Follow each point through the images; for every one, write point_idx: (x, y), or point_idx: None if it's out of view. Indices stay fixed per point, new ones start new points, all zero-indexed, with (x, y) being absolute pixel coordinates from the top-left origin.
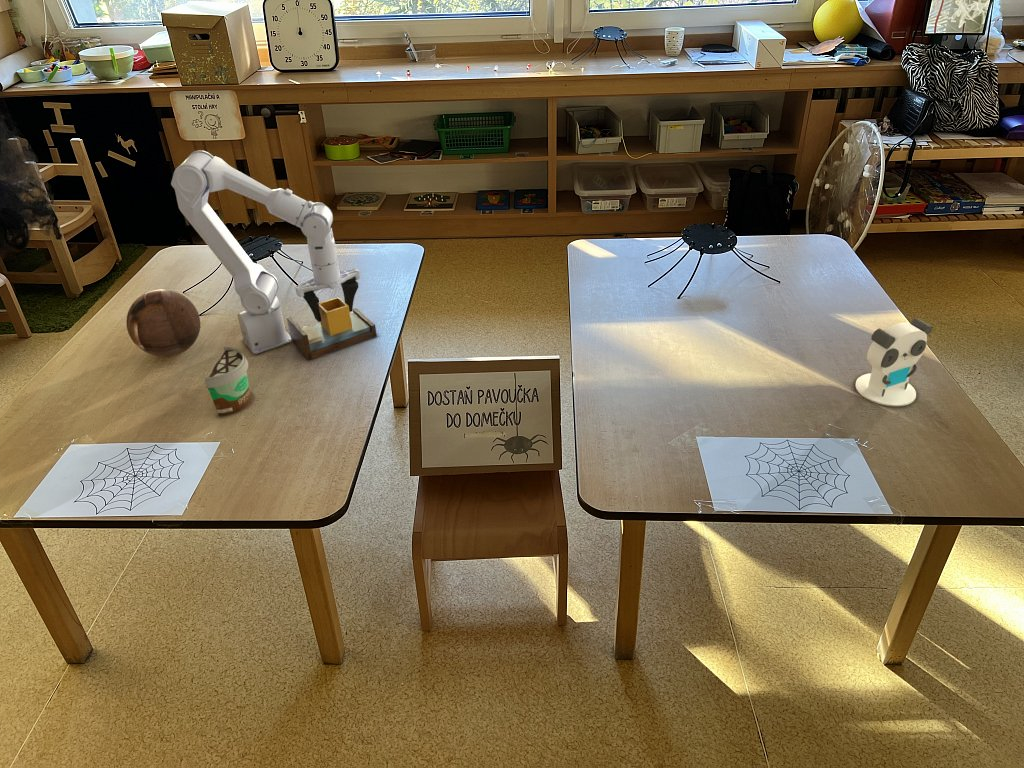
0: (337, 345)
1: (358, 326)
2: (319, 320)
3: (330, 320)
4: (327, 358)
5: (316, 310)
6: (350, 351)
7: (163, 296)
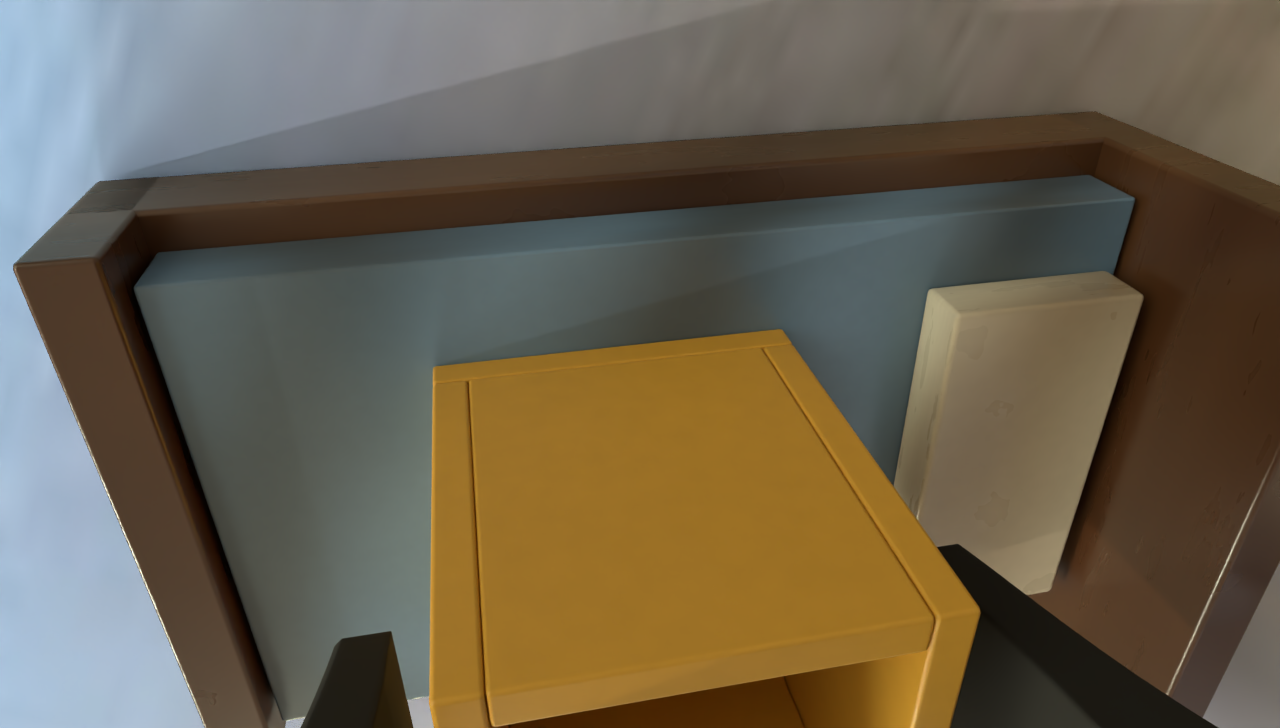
0: (736, 160)
1: (325, 377)
2: (963, 559)
3: (842, 483)
4: (916, 19)
5: (1161, 713)
6: (595, 5)
7: None
